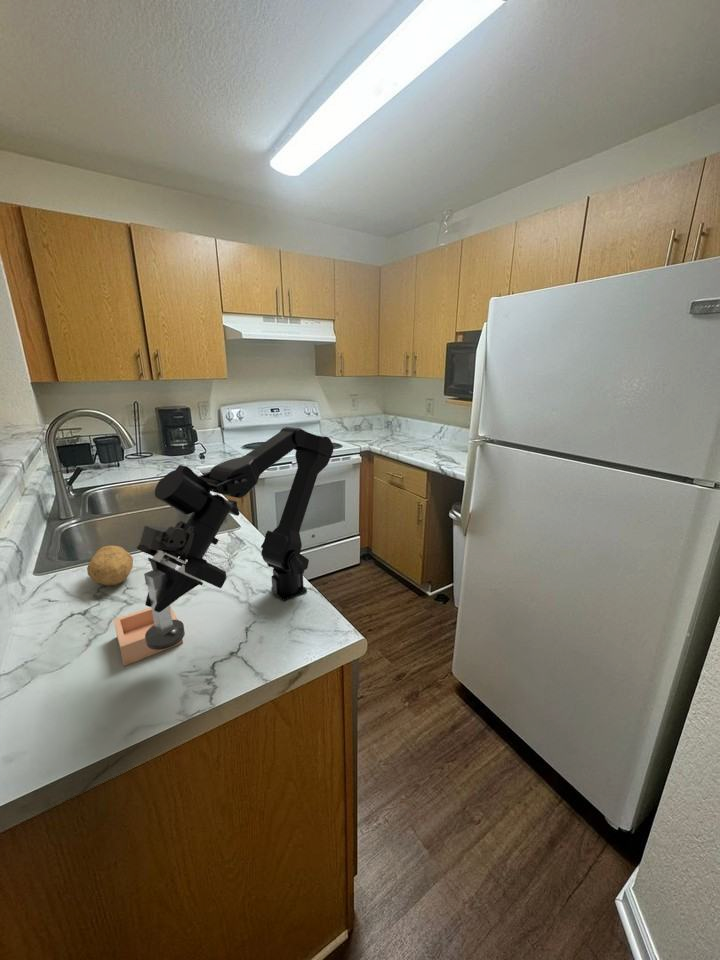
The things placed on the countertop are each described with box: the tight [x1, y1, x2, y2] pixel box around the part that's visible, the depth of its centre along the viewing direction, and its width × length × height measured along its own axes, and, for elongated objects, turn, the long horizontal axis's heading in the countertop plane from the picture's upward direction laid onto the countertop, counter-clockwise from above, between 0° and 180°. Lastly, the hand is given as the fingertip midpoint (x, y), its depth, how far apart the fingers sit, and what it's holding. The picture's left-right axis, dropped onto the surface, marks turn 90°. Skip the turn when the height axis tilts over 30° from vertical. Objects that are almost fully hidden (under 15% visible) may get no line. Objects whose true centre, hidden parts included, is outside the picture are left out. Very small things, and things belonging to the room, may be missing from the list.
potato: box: [86, 545, 134, 586], centre depth 96 cm, size 10×14×8 cm
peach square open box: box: [113, 604, 184, 667], centre depth 75 cm, size 10×10×4 cm
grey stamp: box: [143, 569, 186, 650], centre depth 65 cm, size 6×6×12 cm
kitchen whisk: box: [204, 539, 237, 568], centre depth 113 cm, size 6×34×6 cm, turn 45°
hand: (152, 608), depth 64 cm, fingers closed on grey stamp, 2 cm apart
